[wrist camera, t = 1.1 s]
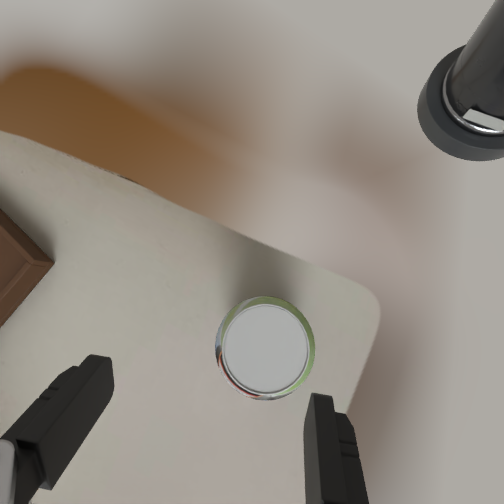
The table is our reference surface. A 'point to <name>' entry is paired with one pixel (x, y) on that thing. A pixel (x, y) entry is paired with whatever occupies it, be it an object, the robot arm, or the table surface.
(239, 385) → the beverage can
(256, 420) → the table surface
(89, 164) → the table surface
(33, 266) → the serving tray
